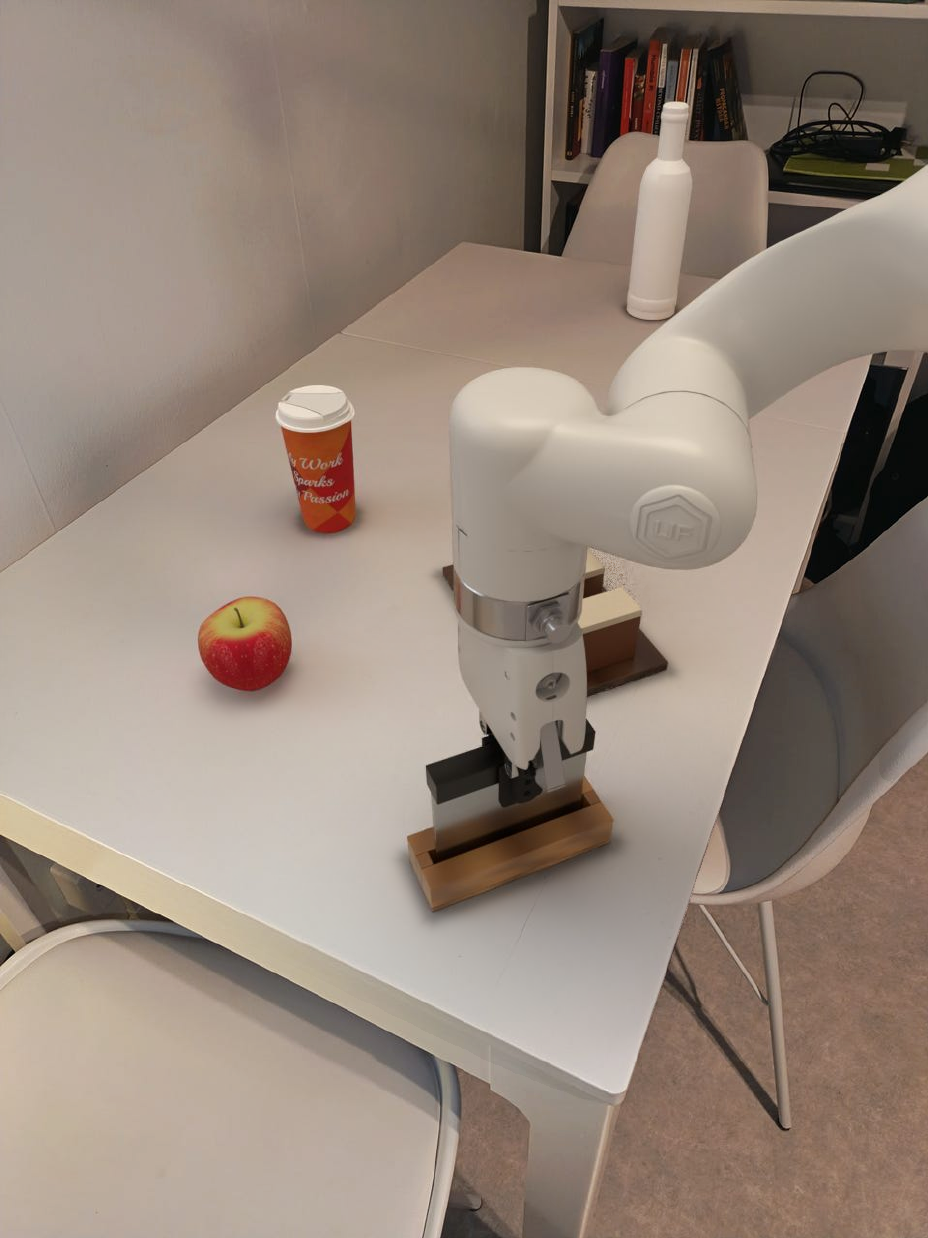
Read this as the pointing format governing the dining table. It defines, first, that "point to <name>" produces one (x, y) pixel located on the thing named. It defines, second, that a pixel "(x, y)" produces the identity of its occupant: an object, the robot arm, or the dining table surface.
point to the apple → (246, 643)
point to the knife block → (509, 853)
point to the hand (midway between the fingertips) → (511, 782)
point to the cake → (618, 673)
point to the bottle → (661, 222)
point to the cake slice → (609, 628)
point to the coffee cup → (320, 454)
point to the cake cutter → (494, 798)
